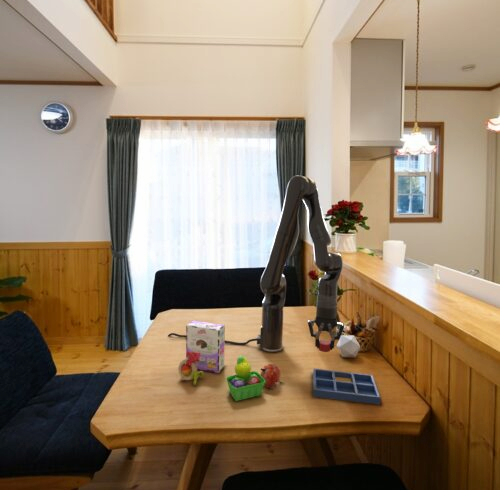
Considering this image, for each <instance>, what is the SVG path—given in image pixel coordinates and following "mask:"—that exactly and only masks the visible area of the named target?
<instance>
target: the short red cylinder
mask: <svg viewBox="0 0 500 490" xmlns="http://www.w3.org/2000/svg"><path fill="white" fill-rule="evenodd" d="M330 345H331V343H330V341H329V340H326V339H319V348H318V350H319V351H320V352H323V353H329V352H331V350H330Z"/></svg>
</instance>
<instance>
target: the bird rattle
mask: <svg viewBox="0 0 500 490" xmlns="http://www.w3.org/2000/svg"><path fill="white" fill-rule="evenodd" d="M186 354H187V356H188V358H187V359H186V358H184V359H182V360H181V361H180V362H179V365H178V373H179V376H180V377H181V381H192V380H193V385H194V386H196V385H197V381H198V379H199V378H204V375H205V372H204V370H199V371H198V369H197V366H196V363H195V361H196V362H199V356H200V354H201V353H195V352H188V351H187V352H185V355H186Z"/></svg>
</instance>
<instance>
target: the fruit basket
mask: <svg viewBox="0 0 500 490" xmlns="http://www.w3.org/2000/svg"><path fill="white" fill-rule="evenodd" d="M234 372H235V374H234V375H228V376H227V377H226V378H225V379H226V382H227V385H228V390H229V393H230V394H231V396H232V398H233V399H234V401H235V402H238V401H241V400H246V399H249V398H250V399H251V398H255V397H258V396H261V395H262V392H263V388H264V386H265V385H264V384H265V380H264V379H263V378H262V376H261V375H260V374H261V373H259V372H258V371H256V370H253V371H252V366H251V364H250V363H249V361H248V359H247V358H246V357H244V356H243V355H241V356H238V357H237V359H236V364H235V367H234Z"/></svg>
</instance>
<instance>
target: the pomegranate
mask: <svg viewBox="0 0 500 490" xmlns="http://www.w3.org/2000/svg"><path fill="white" fill-rule="evenodd" d="M259 374H260V375H261V376H262V378H263V379H264V380H265V384H264V386H265V387H266V388H270V389H272V388H274V387H276V383H280V384H282V382H281V381H280V377H281V369H280V367H279V366H278V365H277V364H275V363H268V364H267V365H264V366H263V368H260V373H259Z"/></svg>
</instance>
